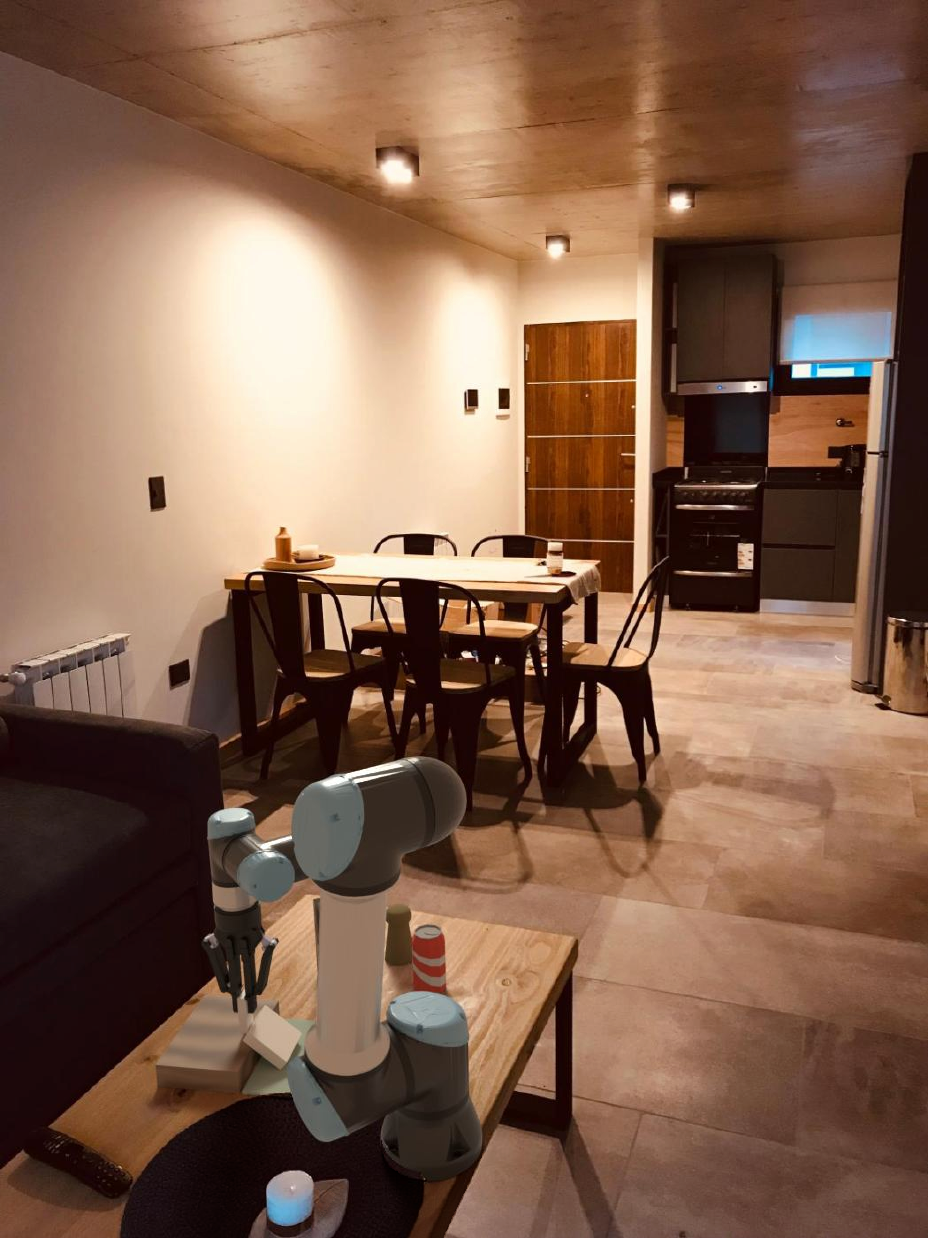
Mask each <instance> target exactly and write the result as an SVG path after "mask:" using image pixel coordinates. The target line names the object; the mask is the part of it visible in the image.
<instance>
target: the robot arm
mask: <svg viewBox="0 0 928 1238" xmlns="http://www.w3.org/2000/svg"><path fill="white" fill-rule="evenodd" d="M299 793H300V794H299V795H298V796H297V798H296V800H295V802H294V806H293V809H292V814H291V819H290V820H291V823H290V833H289V834H285V835H282V836H278V837H274V838H272V839H268V840H265V839H263V838H261V837H260V836H259V835H258V834H257V833H256V827H257V825H256V823H255V822H256V820H255V817H254V813H253V812H251V810H250V809H246V808H242V807H231V808H230V807H228V808H225V809H220V810H218V811H215V812H214V813H213V814H211V815H210V817H209V818H208V819H207V820H208V821H207V837H206V838H207V843H208V851H209V863H210V875H211V885H212V886H211V887H212V901H213V912H214V913H213V914H214V915H213V916H214V924H215V928H214V930H213V933H208V934H207V935H206V936H205V937H204V938H203V940H202V941H201V943H200V944H201V947H202V948H203V949H204V950H205V952H206V954H207V956H208V958H209V962H210V964H211V966H212V969H213V972H214V976H215V979H216V982H217V985H218V988H219V991H220V992H221V993H222V994H225V993H227V994H230V996H232V1004H233V1011H234V1013H238V1017H239V1030H240V1033H247V1032H248V1030H249V1029H250V1027H251V1025H252V1024H253V1014H254V1012H255V1010H256V1009H257V998H258V996H262V994H263V992H264V991H265V989H266V988H267V986H268V982H269V977H270V976H269V975H270V971H271V966H272V961H273V956H274V955H273V954H274V950H275V949H276V947H277V946H278V944H279V943H280V940H279V938H278V937H276V936H275V937H272V938H271V937H270V936H269V935H267V934H266V931H265V929H264V927H263V924H262V908H261V903H274V902H278V901H279V900H281V899H282V897H284V896H285V895H286V894H288V893H289V892H290V890H291V889H292V887H293V886H294V885H293V884H295V883H298V882H302V881H304V880H308V879H310V880H311V882H312V884H313V885H314V886H315V887H316V888H318V890H319V891H320V892H319V894H320V895H319V898H320V920H319V953H318V974H317V988H316V989H317V992H316V1020H315V1021H316V1022H315V1023H314V1024H313V1025H312V1026H311V1027H310V1029H309V1030H308V1032H307V1034H306V1037H305V1047H304V1055H302V1056H300V1057H299V1056H296V1057H295V1058H294V1059H293V1060H291V1061H290V1062H289V1063H288V1065H287V1079H288V1084H289V1088H290V1091H291V1094H292V1097H293V1102H294V1105H295V1108H296V1110H297V1112H298V1114H299V1116H300V1118H301V1120H302V1121H303V1123H304V1124H305V1126H306V1128H307V1129H308V1132H310V1133H311V1134H312V1136H313V1137H314V1138H316V1139H317V1140H318V1141H320V1142H324V1143H325V1142H326V1143H328V1142H332V1141H335V1140H337V1139H340V1138H343V1137H347V1136H350V1134H352V1133H353V1132H356V1131H358V1130H360V1129H362V1128H364V1127H366V1126H369V1124H372V1123H374V1122H376V1121H378V1120H380V1119H382V1118H384V1119H383V1123H382V1125H381V1130H380V1141H381V1140H382V1144H383V1147H384V1148H385V1151H386V1153H387V1154H388V1155H389V1156H390V1157H391V1158H392V1160H394V1161H395V1162H396V1163H398V1164H399V1165H401V1166H403V1167H404V1168H407V1169H409V1170H413V1171H416V1172H421V1174H422V1177H424V1178H425V1180H427V1181H426V1182H438V1181H443V1180H448V1179H450V1178H453V1177H456V1176H459V1175H460V1174H462V1173H464V1172H465V1171H466V1170H468V1169H469V1168H470V1167H472V1166H473V1165H474V1164H475V1162H476V1161H477V1159H478V1158H479V1157H480V1155H481V1151H482V1149H483V1128H482V1124H481V1120H480V1118H479V1115H478V1113H477V1110H476V1108H475V1106H474V1103H473V1101H472V1098H471V1096H470V1067H469V1066H470V1063H469V1061H470V1060H469V1042H470V1033H469V1026H468V1018H467V1014H466V1012H465V1010H464V1008H463V1007H462V1005H461V1004H459V1002H457V1001H456V1000H454V999H453V998H451V997H449V996H447V995H444V994H441V993H439V994H438V993H433V992H427V991H410V992H406V993H403V994H400V995H397V996H396V997H395V998H394V997H393V999H392V1000H391V1001H390V1003H389V1005H388V1006H387V1010H386V1012H385V1015H386V1016H385V1017H386V1019H385V1020H383V1021H381V1016H382V1015H381V1013H382V1012H381V1011H382V996H383V979H384V977H383V976H384V965H385V963H384V960H385V948H386V942H385V941H386V930H387V929H386V928H387V922H386V912H387V908H388V907H387V906H388V895H389V894H388V891H390V890H391V889H393V888H394V887H395V886H396V885H397V883H398V882H399V880H400V878H401V873H402V859H403V856H404V855H405V854H409V853H411V852H415V851H417V850H420V849H423V848H425V847H429V846H432V845H434V844H436V843H438V842H441V841H442V840H444V839H445V838H447V837H448V836H450V835H451V834H452V833H453V832H454V831H455V830H456V829H457V827H458V826H459V825H460V823H461V822H462V820H463V818H464V816H465V813H466V808H467V802H468V801H467V800H468V799H467V792H466V788H465V785H464V783H463V781H462V778H461V777H460V776H459V775H458V773H457V772H456V770H454V768H452V767H451V766H450V765H448V764H447V763H445V762H444V761H441V760H439V759H437V758H434V757H428V756H420V755H419V756H418V755H417V756H410V757H403V758H400V759H397V760H394V761H389V762H386V763H382V764H378V765H375V766H370V767H367V768H364V769H359V770H356V771H352V772H347V773H337V774H333V775H330V776H328V777H327V778H324V779H322V780H319V781H316V782H312V783H311V784H308V785H307V786H306V787H305V788H304V789H302V791H301V792H299ZM260 944H261V945H262V946H261V951H262V952H263V953H262V954H261V959H260V965H259V969H258V974H257V971H256V967H257V966H256V957H255V955H256V948H258V946H259V945H260ZM221 946H222V948H223V949H224V951H225V956H226V959H225V956H224V953H223V950H222V948H221ZM226 961H227V963H226ZM241 963H242V964H241ZM227 964H228V965H227ZM242 969H243V970H242ZM242 974H243V976H242ZM243 982H244V983H243ZM243 988H244V989H243ZM394 1148H396V1150H397V1151H390V1150H391V1149H394Z"/></svg>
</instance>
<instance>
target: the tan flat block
mask: <svg viewBox="0 0 928 1238" xmlns="http://www.w3.org/2000/svg"><path fill="white" fill-rule="evenodd" d="M265 1005H266V1006H268V1007H269V1008H270V1009H272V1010H273V1011H274V1012H275V1013H277V1014H278V1015H279V1016H281V1015H280V1014H281V1012H280V999H279V1000H278V999H269V998H258V997H257V1009H256V1010H255V1012H254V1014H253V1022H254V1020H255V1019H256V1017H257V1015H258V1013H259V1012H260V1011H261V1010H262V1008H263V1007H264V1006H265ZM193 1009H194V1010H192V1012H191V1014H190V1015H189V1016H188V1018H187V1019H186V1021H185V1022H184V1024H183V1025H182V1027H181V1028H180V1029H179V1031H178V1032H177V1033H176V1035H175V1036H174V1038H173V1039H172V1041H171V1042H170V1044H169V1045H168V1046H167V1047H166V1049H165V1051H164V1052H163V1054H162V1055H161V1056H160V1057H159V1059H158V1061H157V1062H156V1063H155V1073H156V1074H155V1075H156V1083H157V1087H160V1088H171V1089H172V1088H173V1089H185V1090H195V1091H202V1092H203V1091H204V1092H216V1093H217V1092H218V1093H226V1094H236V1093H239V1094H240V1093H241V1092H242V1091H243V1090H242V1089H244V1088H243V1087H245V1085H246V1083H247V1081H248V1080H249V1079H248V1078H250V1076H251V1074H252V1072H253V1071H254V1070H253V1069H255V1067H256V1065H257V1063H258V1062H259V1060H260V1058H261V1055H260V1054H259V1053H258V1052H256V1051H255V1050H254V1049H253V1048H251V1047H250V1046H249V1045H247V1044H246V1043H245V1042H244V1041H243V1039H244V1037H245V1036H246V1034H247V1033H240V1030H239V1017H238V1013H234V1011H233V1004H232V996H231V995H229V996H228V995H220V994H218V995H216V994H204V995H203V996H202V997H201V999H200V1001H199V1002H198V1004H197V1005H196V1006H195V1008H193Z"/></svg>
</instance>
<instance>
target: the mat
mask: <svg viewBox="0 0 928 1238" xmlns="http://www.w3.org/2000/svg"><path fill="white" fill-rule="evenodd" d="M282 1018H283V1019H284V1020H286V1021H287V1022H288V1023H290V1024H291V1025H292V1026H293V1027H295V1028H296V1029H297V1030H299V1031H300V1032H301V1033H302V1034H301V1036H300V1038H299V1040H298V1042H297V1044H296V1046H295V1048H294V1050H293V1052H292V1054H291V1056H290V1058H289V1060H288V1062H287V1063H286V1064H285V1065H284V1067H283V1068H282V1069H281V1070H280V1069H278V1068H277V1067H276V1066H275V1065H273V1064H272V1063H271V1062H269V1061H268V1060H267V1059H265V1058H264V1057H263V1056H262V1055H260V1057H259V1059H258V1061H257V1063H256V1064H255V1066H254V1068H253V1069H254V1070H252V1072H251V1074H250V1075H249V1077H248V1078H249V1079H247V1081H246V1083H245V1084H244V1086H243V1087H244V1088H242V1089H243V1090H241V1094H242V1093H243V1094H242V1095H247V1094H251V1095H250V1096H258V1095H260V1094H267V1093H285V1092H291V1091H290V1088H289V1084H288V1079H287V1065H288V1063H289V1062H290V1061H291V1060H293V1059H294V1058H295V1057H296V1056H299V1057H300V1056H302V1055H304V1047H305V1037H306V1034H307V1032H308V1030H309V1029H310V1027H311V1026H312V1025H313V1024H314V1023H315V1022H316V1020H311V1019H310V1020H309V1019H299V1018H298V1019H297V1018H286V1017H282ZM245 1093H246V1094H245Z"/></svg>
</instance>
